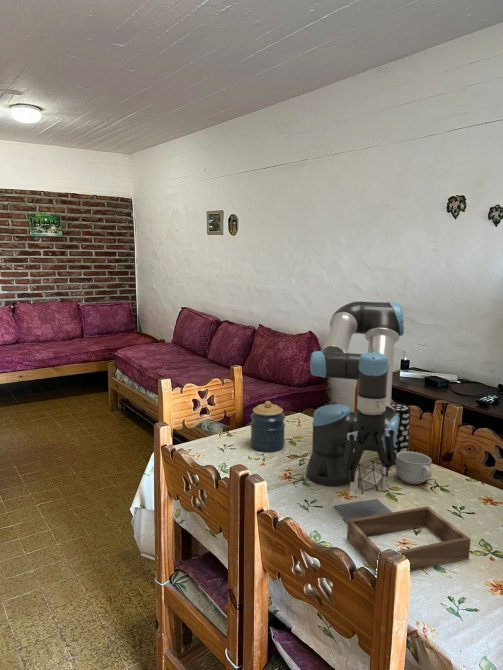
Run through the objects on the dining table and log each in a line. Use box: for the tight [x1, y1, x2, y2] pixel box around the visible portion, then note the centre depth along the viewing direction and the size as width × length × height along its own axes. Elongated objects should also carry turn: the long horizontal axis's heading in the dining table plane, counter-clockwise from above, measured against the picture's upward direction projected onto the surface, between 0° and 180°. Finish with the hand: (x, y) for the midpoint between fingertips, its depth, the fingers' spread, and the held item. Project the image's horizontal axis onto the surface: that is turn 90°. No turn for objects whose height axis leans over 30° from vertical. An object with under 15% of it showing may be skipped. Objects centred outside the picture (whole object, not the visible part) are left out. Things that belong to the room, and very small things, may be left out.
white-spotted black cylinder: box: [390, 403, 412, 468], centre depth 170 cm, size 8×8×20 cm
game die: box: [356, 459, 386, 495], centre depth 135 cm, size 9×8×10 cm
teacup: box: [395, 451, 432, 485], centre depth 156 cm, size 14×11×8 cm
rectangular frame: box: [346, 506, 471, 572], centre depth 121 cm, size 16×24×5 cm, turn 107°
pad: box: [333, 498, 394, 523], centre depth 137 cm, size 12×14×1 cm
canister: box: [250, 400, 286, 453], centre depth 184 cm, size 13×13×18 cm
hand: (367, 489), depth 135 cm, fingers closed on game die, 8 cm apart
